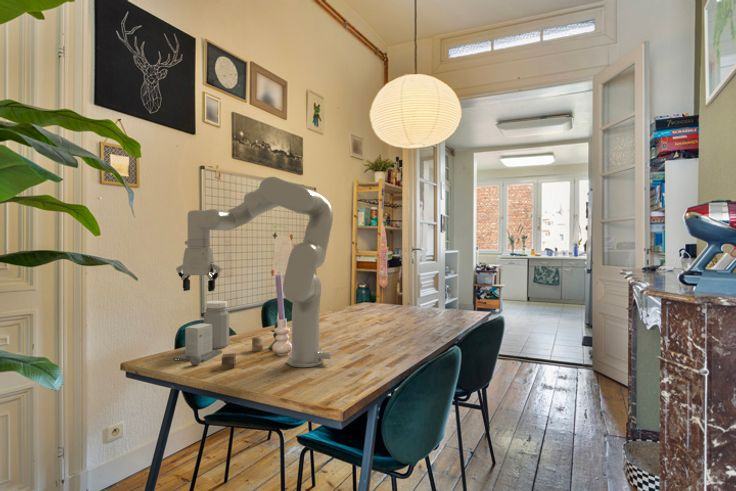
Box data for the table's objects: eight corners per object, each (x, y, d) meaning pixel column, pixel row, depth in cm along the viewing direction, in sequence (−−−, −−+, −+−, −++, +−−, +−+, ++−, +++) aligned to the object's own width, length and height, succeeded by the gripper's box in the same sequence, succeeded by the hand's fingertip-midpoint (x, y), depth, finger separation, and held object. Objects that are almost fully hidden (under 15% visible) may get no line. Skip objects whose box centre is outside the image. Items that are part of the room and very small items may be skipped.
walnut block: (235, 365, 140) (235, 353, 140) (234, 368, 136) (234, 356, 136) (223, 365, 139) (223, 354, 139) (221, 369, 135) (221, 357, 135)
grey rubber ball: (203, 363, 141) (203, 353, 141) (197, 366, 137) (197, 356, 137) (193, 363, 141) (193, 352, 141) (187, 366, 138) (187, 355, 138)
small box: (200, 350, 155) (200, 322, 155) (212, 352, 153) (212, 323, 153) (184, 356, 147) (184, 327, 147) (197, 357, 145) (197, 328, 145)
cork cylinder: (264, 349, 160) (264, 336, 160) (260, 352, 156) (260, 339, 156) (254, 349, 160) (254, 336, 160) (250, 351, 156) (250, 338, 156)
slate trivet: (221, 352, 155) (221, 350, 155) (204, 361, 143) (204, 359, 143) (192, 351, 157) (192, 349, 157) (173, 360, 145) (173, 357, 145)
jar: (218, 350, 158) (218, 304, 157) (197, 348, 161) (197, 302, 161) (234, 344, 167) (234, 300, 167) (215, 342, 170) (215, 299, 170)
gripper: (170, 244, 147) (170, 291, 147) (215, 244, 145) (215, 292, 145) (183, 244, 154) (183, 289, 155) (225, 244, 152) (226, 290, 152)
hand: (198, 290), depth 150 cm, fingers open, 9 cm apart
